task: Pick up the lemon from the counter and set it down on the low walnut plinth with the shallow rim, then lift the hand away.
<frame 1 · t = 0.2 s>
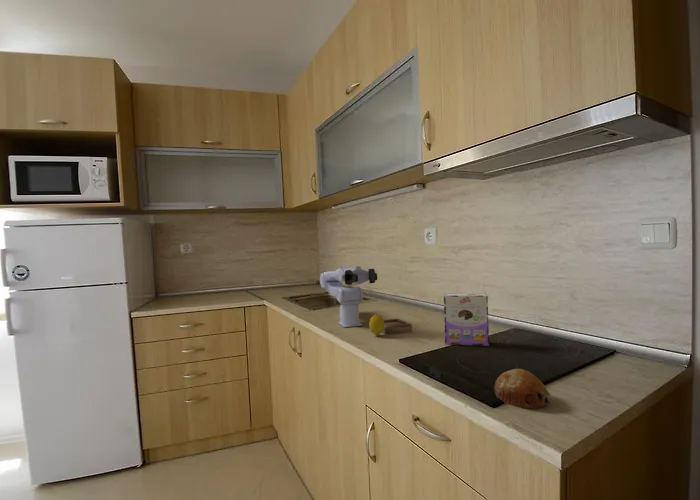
hand: (366, 277, 132), 21 cm above the worktop, tool horizontal, fingers open, 7 cm apart
candy box: (466, 343, 119), on the worktop
base: (392, 329, 140), on the worktop
lemon: (377, 336, 132), on the worktop
reddish brown rounded lump: (522, 400, 76), on the worktop
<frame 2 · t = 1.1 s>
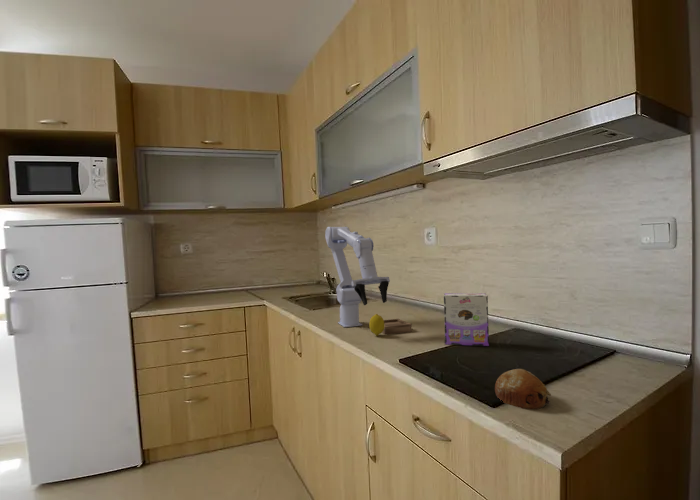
hand: (375, 303, 131), 12 cm above the worktop, tool tilted 20°, fingers open, 7 cm apart
nothing on the worktop moved.
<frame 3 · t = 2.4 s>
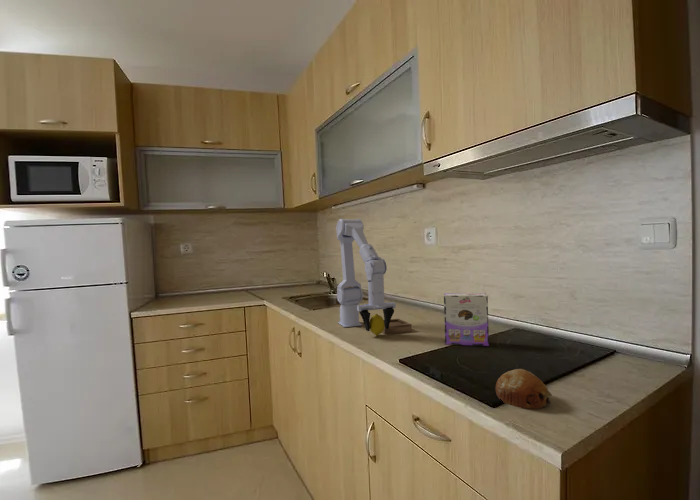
hand: (377, 329, 131), 2 cm above the worktop, tool pointing down, fingers open, 7 cm apart
nothing on the worktop moved.
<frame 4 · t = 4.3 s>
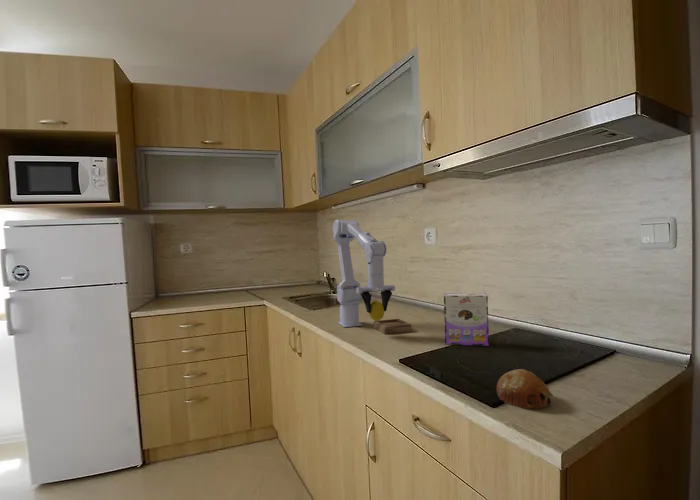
hand: (376, 311, 131), 9 cm above the worktop, tool pointing down, fingers closed on lemon, 5 cm apart
lemon: (377, 322, 132), point 5 cm above the worktop, touching gripper
everything else where it was.
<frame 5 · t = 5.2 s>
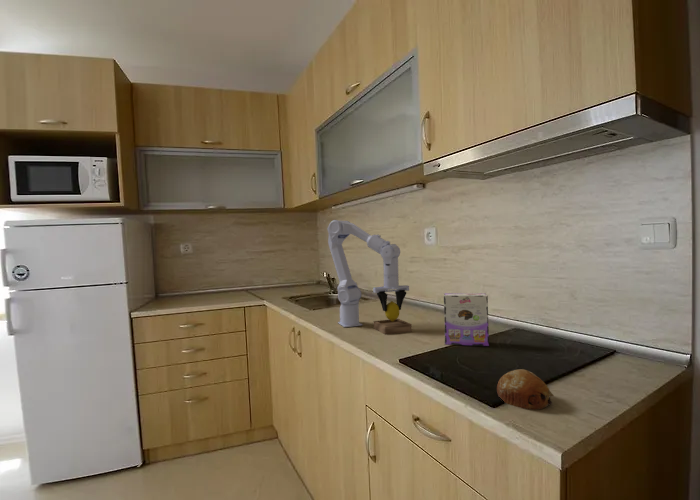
hand: (391, 310, 140), 8 cm above the worktop, tool pointing down, fingers closed on lemon, 5 cm apart
lemon: (392, 322, 140), point 3 cm above the worktop, touching gripper
everything else where it was.
when the fingers open (5 cm above the worktop, at t = 6.5 s): lemon stays where it is, resting on base.
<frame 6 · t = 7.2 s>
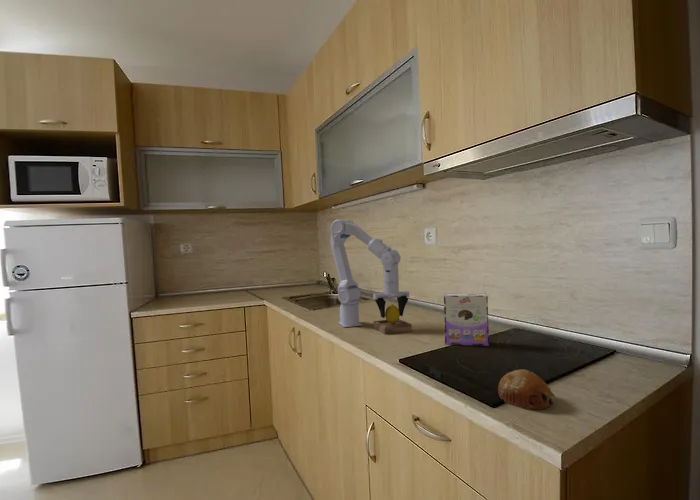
hand: (391, 316, 140), 5 cm above the worktop, tool pointing down, fingers open, 7 cm apart
lemon: (392, 325, 140), point 2 cm above the worktop, touching base
everything else where it was.
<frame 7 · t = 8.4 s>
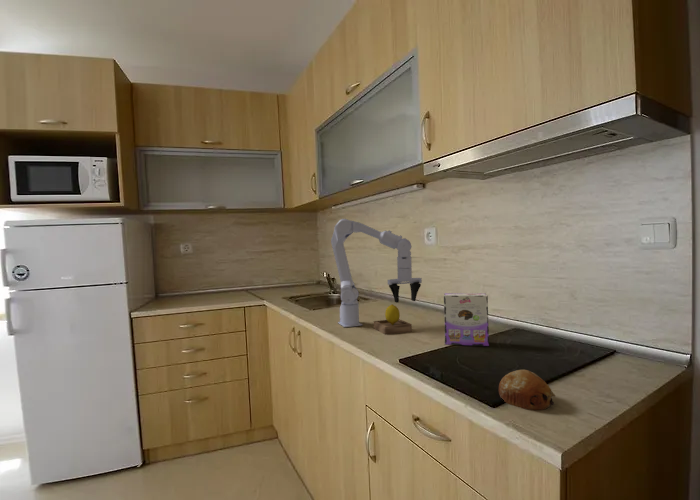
hand: (405, 301, 146), 10 cm above the worktop, tool pointing down, fingers open, 7 cm apart
nothing on the worktop moved.
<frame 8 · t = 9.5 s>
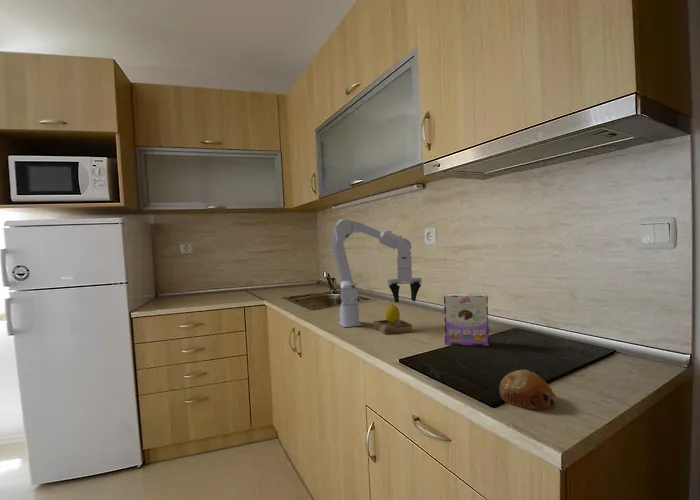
hand: (405, 301, 146), 10 cm above the worktop, tool pointing down, fingers open, 7 cm apart
nothing on the worktop moved.
at the end: lemon 0.4 cm from the base (horizontally); lemon touching base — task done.
